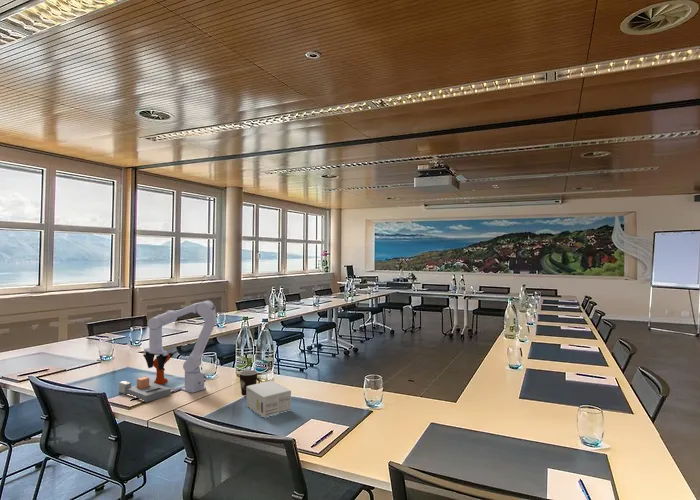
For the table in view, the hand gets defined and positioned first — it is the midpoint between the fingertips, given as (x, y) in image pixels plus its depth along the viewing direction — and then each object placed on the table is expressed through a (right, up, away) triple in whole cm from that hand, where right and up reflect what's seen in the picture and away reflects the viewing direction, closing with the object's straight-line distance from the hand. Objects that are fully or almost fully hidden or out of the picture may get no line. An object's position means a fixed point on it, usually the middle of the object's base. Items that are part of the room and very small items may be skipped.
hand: (155, 368), depth 203 cm
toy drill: (-1, -11, +14) cm, 18 cm away
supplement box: (+61, -11, -25) cm, 66 cm away
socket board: (0, -10, -7) cm, 13 cm away
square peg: (-4, -10, -4) cm, 12 cm away
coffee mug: (+48, -11, -6) cm, 49 cm away
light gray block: (-13, -10, -4) cm, 17 cm away
